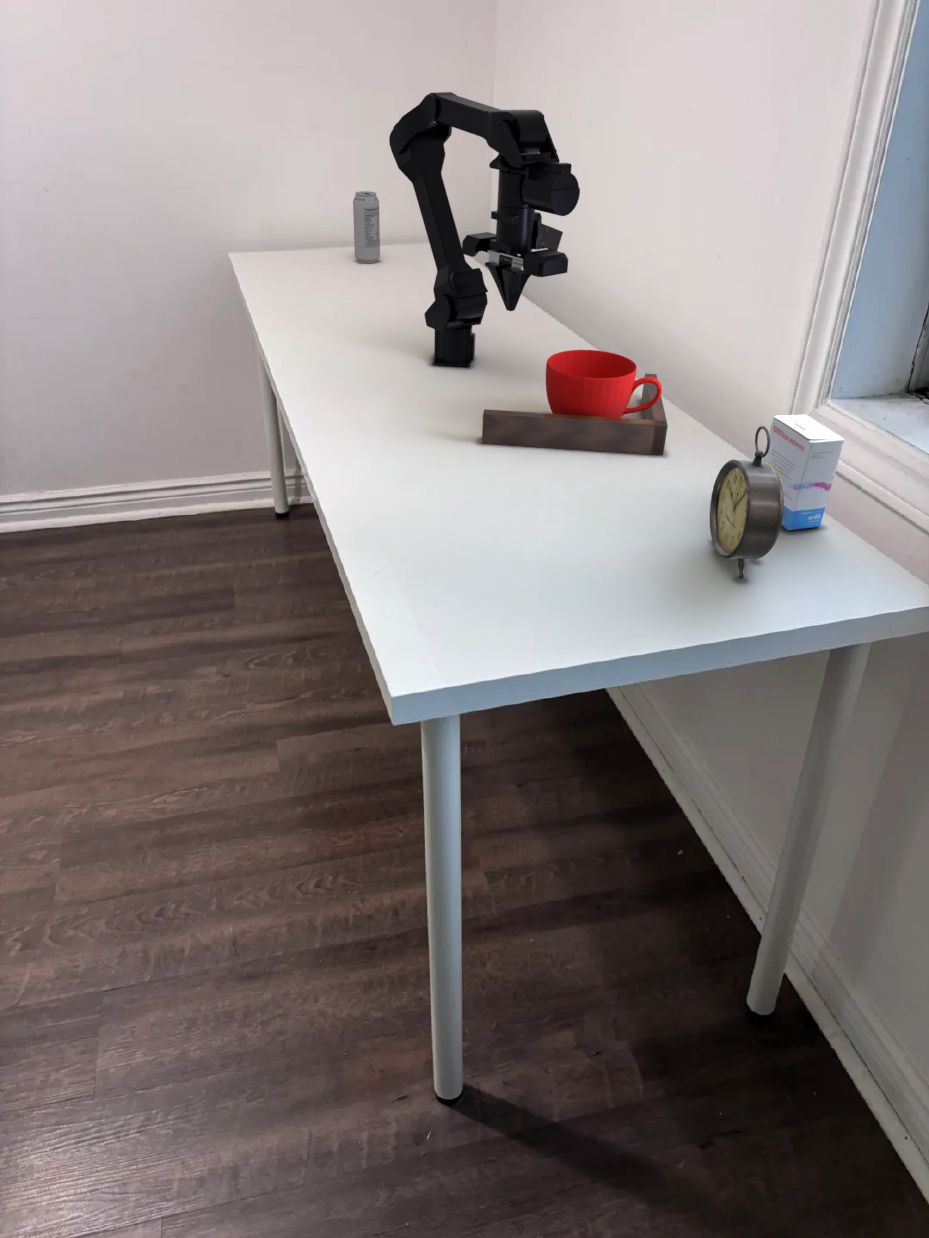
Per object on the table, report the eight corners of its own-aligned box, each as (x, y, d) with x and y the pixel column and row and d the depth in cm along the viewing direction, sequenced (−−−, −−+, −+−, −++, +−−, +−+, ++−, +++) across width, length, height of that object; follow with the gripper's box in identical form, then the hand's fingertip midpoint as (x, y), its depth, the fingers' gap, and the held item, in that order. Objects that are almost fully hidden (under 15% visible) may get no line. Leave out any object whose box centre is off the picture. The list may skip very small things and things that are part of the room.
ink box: (823, 527, 117) (847, 437, 110) (787, 532, 116) (810, 441, 109) (784, 497, 124) (805, 411, 117) (751, 501, 122) (770, 414, 116)
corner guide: (481, 443, 136) (483, 413, 133) (492, 391, 154) (493, 364, 151) (663, 455, 134) (667, 425, 132) (652, 401, 152) (656, 374, 150)
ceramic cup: (651, 455, 134) (661, 386, 129) (533, 440, 137) (539, 372, 132) (658, 422, 145) (668, 357, 139) (549, 409, 148) (554, 345, 142)
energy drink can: (369, 257, 230) (368, 190, 221) (385, 261, 226) (384, 194, 218) (349, 260, 226) (347, 192, 218) (365, 265, 223) (363, 196, 214)
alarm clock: (700, 538, 114) (725, 408, 105) (744, 537, 114) (772, 408, 105) (729, 585, 105) (759, 448, 96) (776, 584, 105) (810, 447, 96)
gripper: (598, 210, 140) (588, 316, 149) (514, 191, 152) (509, 290, 161) (544, 217, 134) (536, 328, 143) (461, 197, 146) (458, 300, 155)
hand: (510, 310), depth 150 cm, fingers closed
